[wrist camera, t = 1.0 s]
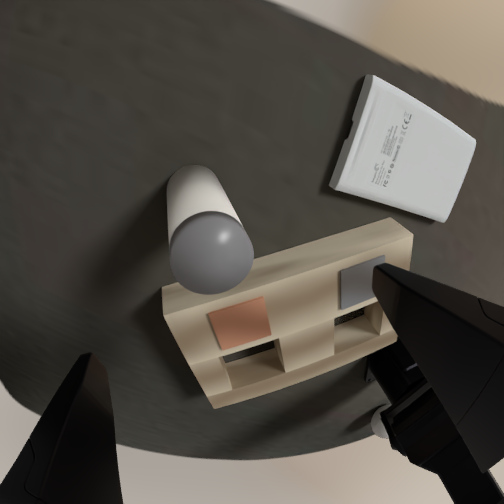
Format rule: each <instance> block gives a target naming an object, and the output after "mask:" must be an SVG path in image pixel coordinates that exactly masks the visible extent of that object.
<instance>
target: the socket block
mask: <svg viewBox="0 0 504 504" xmlns="http://www.w3.org/2000/svg"><path fill="white" fill-rule="evenodd" d="M412 243H413V234H412V233H411V232H409V231H408V230H407V229H405V228H404V227H403V226H401V225H400V224H399V223H398V222H396V221H395V220H394V219H392V218H391V217H389V218H386V219H383V220H380V221H376V222H373V223H370V224H367V225H364V226H360V227H357V228H354V229H351V230H348V231H344V232H341V233H338V234H335V235H331V236H328V237H325V238H322V239H318V240H315V241H312V242H309V243H305V244H302V245H299V246H296V247H292V248H289V249H286V250H283V251H279V252H276V253H273V254H270V255H266V256H263V257H260V258H256V259H254V260H253V264H252V267H251V270H250V272H249V273H248V275H247V276H246V277H245V279H244V280H243V281H242V282H241V283H240V284H238V285H237V286H236V287H234V288H232V289H230V290H228V291H226V292H223V293H219V294H213V295H204V294H198V293H194V292H192V291H189V290H187V289H186V288H184V287H183V286H182V285H180V284H179V282H177V283H174V284H170V285H167V286H164V287H162V302H163V316H164V318H165V320H166V322H167V324H168V326H169V328H170V330H171V332H172V334H173V336H174V338H175V340H176V342H177V344H178V345H179V347H180V349H181V351H182V353H183V355H184V357H185V359H186V360H187V362H188V364H189V366H190V368H191V370H192V371H193V373H194V375H195V377H196V378H197V380H198V382H199V384H200V385H201V387H202V389H203V391H204V392H205V394H206V396H207V398H208V399H209V401H210V403H211V404H212V406H213V408H214V409H216V408H220V407H223V406H227V405H231V404H234V403H238V402H241V401H244V400H248V399H251V398H254V397H257V396H261V395H264V394H267V393H270V392H273V391H276V390H279V389H282V388H285V387H288V386H290V385H293V384H296V383H299V382H302V381H304V380H307V379H310V378H312V377H315V376H318V375H320V374H323V373H325V372H328V371H330V370H333V369H335V368H338V367H340V366H343V365H345V364H348V363H350V362H352V361H355V360H357V359H359V358H362V357H364V356H366V355H368V354H371V353H373V352H375V351H377V350H379V349H382V348H384V347H386V346H388V345H390V344H392V343H394V342H396V341H397V336H398V335H397V334H396V332H395V331H394V329H393V328H392V326H391V324H390V322H389V320H388V319H387V317H386V315H385V313H384V311H383V309H382V308H381V306H380V304H379V302H378V300H377V298H376V297H375V295H374V293H373V290H372V275H373V268H374V266H376V265H378V264H381V263H389V264H391V265H394V266H397V267H400V268H402V269H405V270H408V271H409V268H410V260H411V252H412ZM364 306H365V309H364V315H362V316H359V317H357V318H354V319H352V320H349V321H347V322H344V323H342V324H339V325H337V326H334V318H336V317H339V316H342V315H344V314H347V313H349V312H352V311H354V310H357V309H359V308H362V307H364ZM272 340H273V342H274V346H275V348H273V349H270V350H267V351H263V352H260V353H257V354H254V355H251V356H248V357H245V358H241V359H238V360H235V361H232V362H228V363H225V362H224V359H223V357H222V356H224V355H228V354H231V353H234V352H237V351H241V350H244V349H247V348H250V347H253V346H257V345H260V344H263V343H266V342H269V341H272Z"/></svg>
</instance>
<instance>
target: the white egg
mask: <svg viewBox="0 0 504 504" xmlns="http://www.w3.org/2000/svg"><path fill="white" fill-rule="evenodd" d="M391 405H392V404H388V405H384V406H382V407H380V408H379V409H377V411H376V412H375V413H374V414H373V417H372V419H371V427H372V430H373V432H374V433H375V434H376V435H377V436H379V437H381V438H386V439H388V438H389V437H388V434H387V432H386V430H385V427H384V425H383V423H382V421H381V419H380V418H381V416H380V414H379V413H380V412H382V411H383V410H386V409H387V408H388V407H390V406H391Z"/></svg>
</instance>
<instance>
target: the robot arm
mask: <svg viewBox="0 0 504 504" xmlns="http://www.w3.org/2000/svg"><path fill="white" fill-rule="evenodd" d="M372 290H373V293H374V295H375V297H376V298H377V300H378V302H379V304H380V306H381V308H382V309H383V311H384V313H385V315H386V317H387V319H388V320H389V322H390V324H391V326H392V328H393V329H394V331H395V332H396V334H397V335H398V337H397V341H396V342H394V343H392V344H390V345H388V346H386V347H384V348H382V349H379V350H377V351H375V352H373V353H371V354H368V360H367V366H366V373H365V379H364V380H365V382H366V383H368V382H370V381H373V380H375V379H376V380H377V382H378V383H379V385H380V386H381V388H382V389H383V391H384V393H385V394H386V396H387V397H388V399H389V400H390V402H391V404H392V405H391V406H390V407H388V408H387V409H386V410H383V411H382V412H380V413H379V414H380V416H381V418H380V419H381V421H382V423H383V425H384V427H385V430H386V432H387V434H388V437H389V441H390V444H391V447H392V449H394V450H398V451H399V452H400V453H401V454H402V455H403V456H407V457H408V459H409V461H410V462H411V463H413V464H415V465H417V466H419V467H422V468H424V469H426V470H428V471H431V472H433V473H436V474H438V476H439V477H440V479H441V481H442V482H443V484H444V486H445V488H446V490H447V491H448V493H449V495H450V497H451V498H452V500H453V502H454V504H504V493H503V492H502V490H501V488H500V487H499V485H498V483H497V482H496V480H495V478H494V477H493V475H492V474H491V472H490V470H489V469H490V468H491V467H492V466H494V465H495V464H496V463H497V462H499V461H500V460H501V459H503V458H504V307H502V306H499V305H497V304H494V303H491V302H489V301H486V300H484V299H481V298H477V297H476V296H473V295H471V294H468V293H466V292H463V291H461V290H458V289H455V288H453V287H450V286H448V285H445V284H442V283H440V282H437V281H435V280H432V279H429V278H427V277H424V276H421V275H419V274H416V273H413V272H411V271H408V270H405V269H402V268H400V267H397V266H394V265H391V264H389V263H381V264H378V265H376V266H374V268H373V275H372ZM0 504H123V499H122V493H121V487H120V478H119V471H118V462H117V453H116V440H115V427H114V416H113V409H112V402H111V396H110V389H109V382H108V374H107V371H106V369H105V367H104V366H103V365H102V363H101V362H100V361H99V359H98V358H97V357H96V355H95V354H94V353H92V352H90V353H85V354H82V355H80V356H79V358H78V359H77V361H76V362H75V364H74V365H73V367H72V368H71V370H70V371H69V373H68V375H67V376H66V378H65V379H64V381H63V382H62V384H61V385H60V387H59V389H58V390H57V392H56V393H55V395H54V397H53V398H52V400H51V401H50V403H49V405H48V406H47V408H46V410H45V411H44V413H43V415H42V416H41V418H40V420H39V421H38V423H37V425H36V426H35V428H34V430H33V432H32V433H31V435H30V439H28V440H27V442H26V444H25V446H24V447H23V449H22V451H21V452H20V454H19V456H18V458H17V459H16V461H15V462H14V464H13V466H12V467H11V469H10V470H9V472H8V474H7V475H6V477H5V478H4V480H3V481H2V483H1V484H0Z"/></svg>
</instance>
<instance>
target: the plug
mask: <svg viewBox="0 0 504 504" xmlns="http://www.w3.org/2000/svg"><path fill="white" fill-rule="evenodd" d="M167 216H168V236H169V252H170V265H171V270H172V273H173V275H174V277H175V279H176V280H177V281H178V282H179V284H180V285H182V286H183V287H184V288H186V289H187V290H189V291H192V292H194V293H198V294H204V295H213V294H219V293H223V292H226V291H228V290H230V289H232V288H234V287H236V286H237V285H238V284H240V283H241V282H242V281H243V280H244V279H245V277H246V276H247V275H248V273H249V272H250V270H251V267H252V264H253V260H254V250H253V246H252V243H251V241H250V239H249V237H248V235H247V233H246V231H245V230H244V228H243V226H242V224H241V222H240V220H239V218H238V216H237V214H236V213H235V211H234V209H233V207H232V205H231V203H230V201H229V199H228V197H227V196H226V194H225V192H224V190H223V188H222V186H221V184H220V182H219V180H218V179H217V177H216V175H215V174H214V173H213V172H212V171H211V170H210V169H208V168H207V167H204V166H201V165H187V166H184V167H182V168H180V169H179V170H177V171H176V172H175V173H174V174H173V175H172V176H171V178H170V179H169V182H168V184H167Z"/></svg>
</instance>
